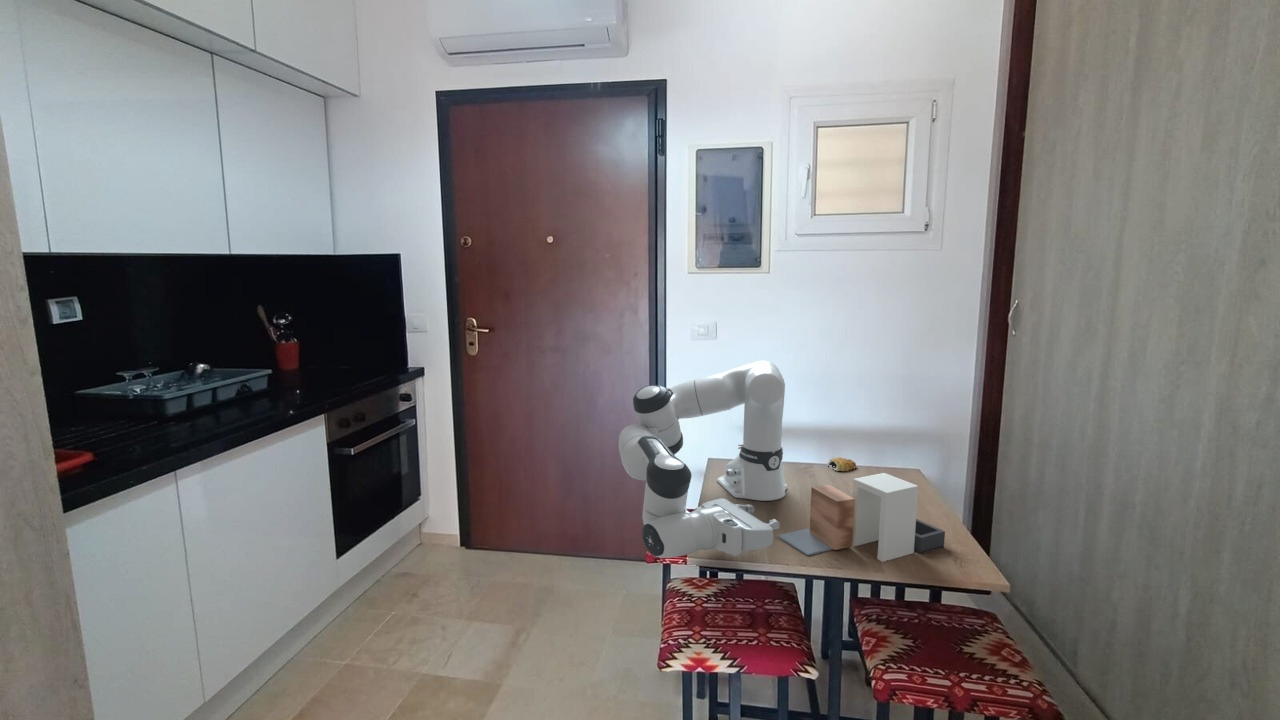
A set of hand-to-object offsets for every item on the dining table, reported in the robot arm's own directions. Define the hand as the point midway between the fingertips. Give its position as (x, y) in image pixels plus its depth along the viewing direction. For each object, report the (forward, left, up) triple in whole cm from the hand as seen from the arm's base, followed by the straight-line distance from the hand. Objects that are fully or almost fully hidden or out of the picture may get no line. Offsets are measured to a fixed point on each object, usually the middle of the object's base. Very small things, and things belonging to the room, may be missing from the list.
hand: (764, 515), depth 138 cm
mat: (0, +14, -10) cm, 17 cm away
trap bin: (+10, +37, -10) cm, 40 cm away
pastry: (-39, +61, -10) cm, 73 cm away
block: (+2, +19, -9) cm, 21 cm away
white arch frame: (+10, +27, -10) cm, 30 cm away
